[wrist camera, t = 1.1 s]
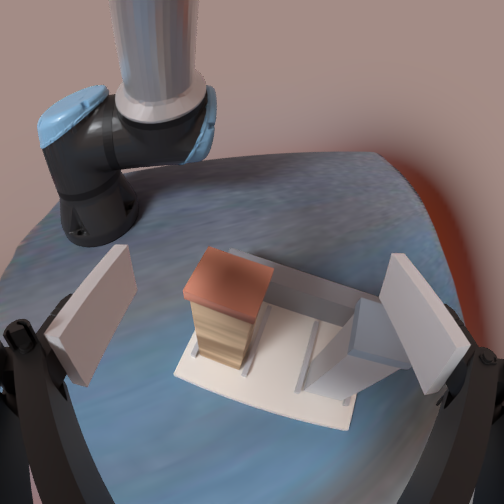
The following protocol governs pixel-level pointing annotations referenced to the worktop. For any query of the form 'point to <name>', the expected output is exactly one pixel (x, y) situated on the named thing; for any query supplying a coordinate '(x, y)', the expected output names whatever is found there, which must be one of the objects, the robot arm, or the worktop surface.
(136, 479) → the worktop surface
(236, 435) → the worktop surface
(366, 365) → the grey tall block
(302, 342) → the switch base
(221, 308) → the beige wooden tall block
